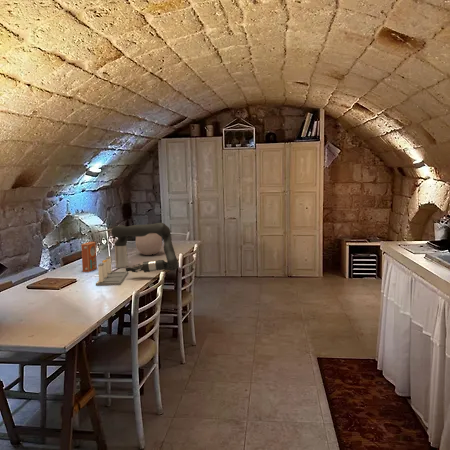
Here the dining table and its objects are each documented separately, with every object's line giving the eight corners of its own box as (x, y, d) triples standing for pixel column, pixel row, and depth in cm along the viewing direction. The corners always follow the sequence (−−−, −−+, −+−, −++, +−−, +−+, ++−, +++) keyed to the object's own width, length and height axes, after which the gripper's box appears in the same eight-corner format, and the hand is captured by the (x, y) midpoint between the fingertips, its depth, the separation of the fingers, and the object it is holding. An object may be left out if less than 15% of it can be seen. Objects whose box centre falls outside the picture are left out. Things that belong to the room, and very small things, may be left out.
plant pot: (163, 256, 386) (162, 223, 383) (136, 257, 381) (134, 224, 378) (161, 251, 409) (160, 220, 406) (135, 253, 404) (134, 221, 401)
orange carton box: (98, 268, 338) (88, 272, 324) (90, 268, 340) (80, 272, 325) (97, 241, 336) (87, 244, 321) (89, 241, 337) (79, 244, 323)
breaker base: (95, 285, 284) (94, 265, 282) (106, 273, 319) (105, 255, 317) (120, 285, 285) (119, 264, 283) (128, 273, 320) (127, 255, 318)
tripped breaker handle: (102, 277, 299) (102, 261, 297) (104, 276, 304) (103, 259, 302) (106, 277, 299) (105, 261, 297) (108, 275, 304) (107, 259, 303)
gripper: (149, 274, 296) (125, 277, 297) (152, 268, 309) (129, 271, 310) (147, 264, 295) (122, 267, 295) (150, 258, 308) (127, 261, 308)
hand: (126, 269), depth 303 cm, fingers closed
